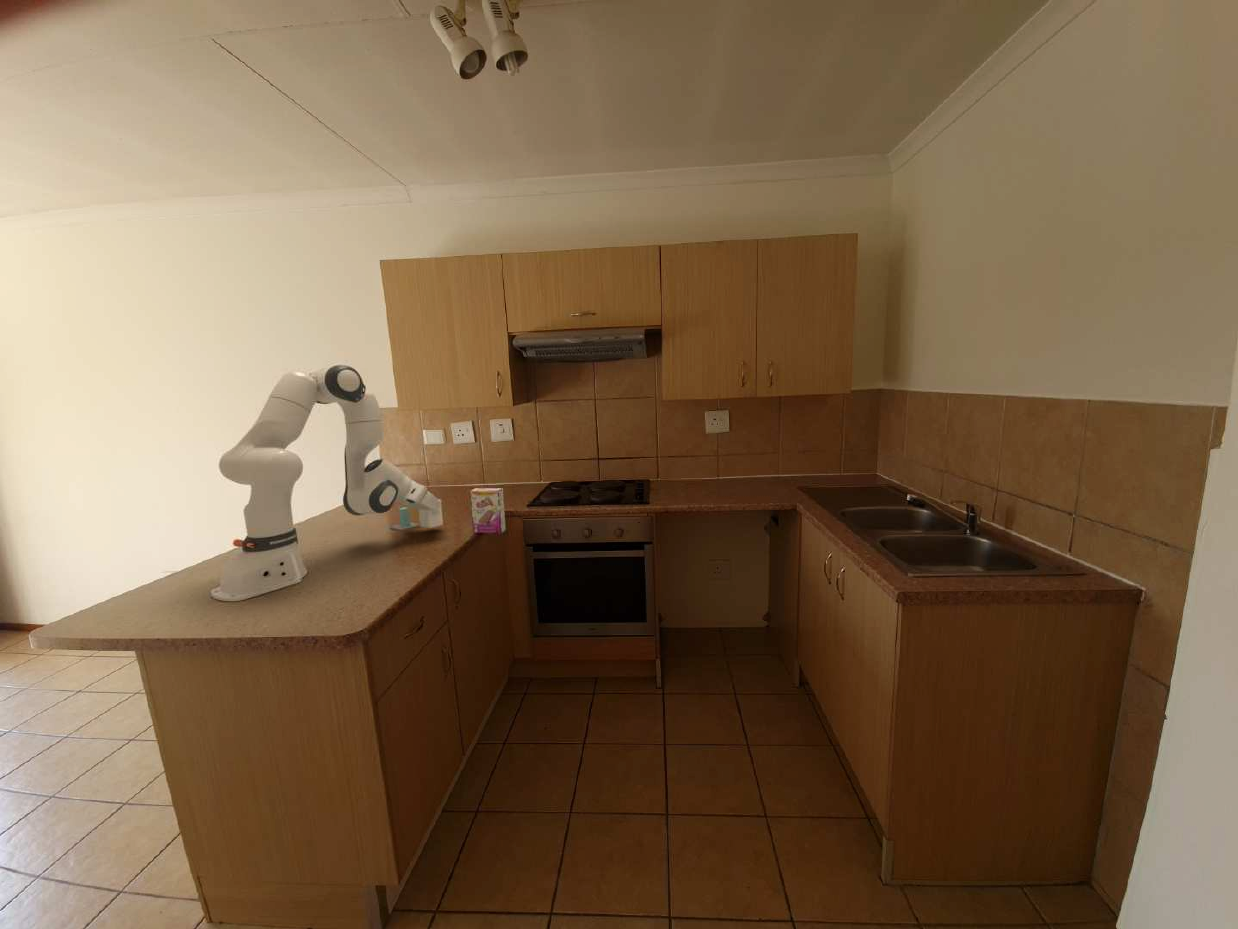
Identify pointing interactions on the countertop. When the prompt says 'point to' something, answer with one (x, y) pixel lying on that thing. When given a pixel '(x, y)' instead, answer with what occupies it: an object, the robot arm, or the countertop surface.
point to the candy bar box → (488, 510)
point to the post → (404, 521)
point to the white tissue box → (430, 518)
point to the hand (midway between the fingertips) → (432, 512)
